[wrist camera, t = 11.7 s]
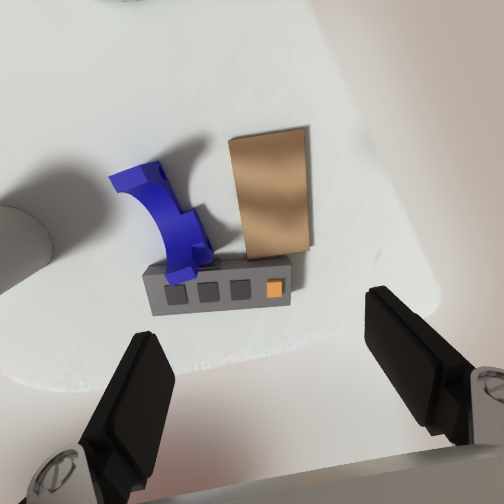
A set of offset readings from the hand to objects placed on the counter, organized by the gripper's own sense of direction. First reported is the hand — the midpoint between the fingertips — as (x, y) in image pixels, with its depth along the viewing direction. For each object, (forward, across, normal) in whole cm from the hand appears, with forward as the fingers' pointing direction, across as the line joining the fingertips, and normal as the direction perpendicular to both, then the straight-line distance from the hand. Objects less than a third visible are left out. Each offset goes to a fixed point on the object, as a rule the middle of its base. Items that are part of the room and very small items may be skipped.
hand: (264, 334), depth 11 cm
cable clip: (+21, +8, -2) cm, 22 cm away
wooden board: (+20, -4, -1) cm, 21 cm away
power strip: (+20, +5, +9) cm, 23 cm away
